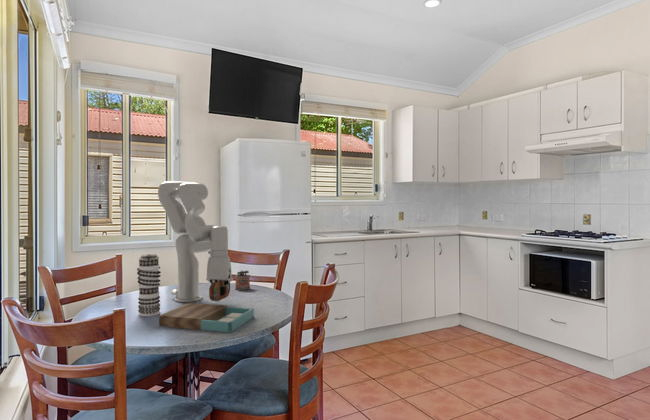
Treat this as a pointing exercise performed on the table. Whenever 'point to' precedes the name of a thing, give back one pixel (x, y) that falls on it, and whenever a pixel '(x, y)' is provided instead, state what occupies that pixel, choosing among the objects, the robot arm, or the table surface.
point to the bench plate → (191, 315)
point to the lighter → (242, 280)
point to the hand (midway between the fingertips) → (219, 294)
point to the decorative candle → (148, 285)
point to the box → (231, 325)
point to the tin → (218, 291)
